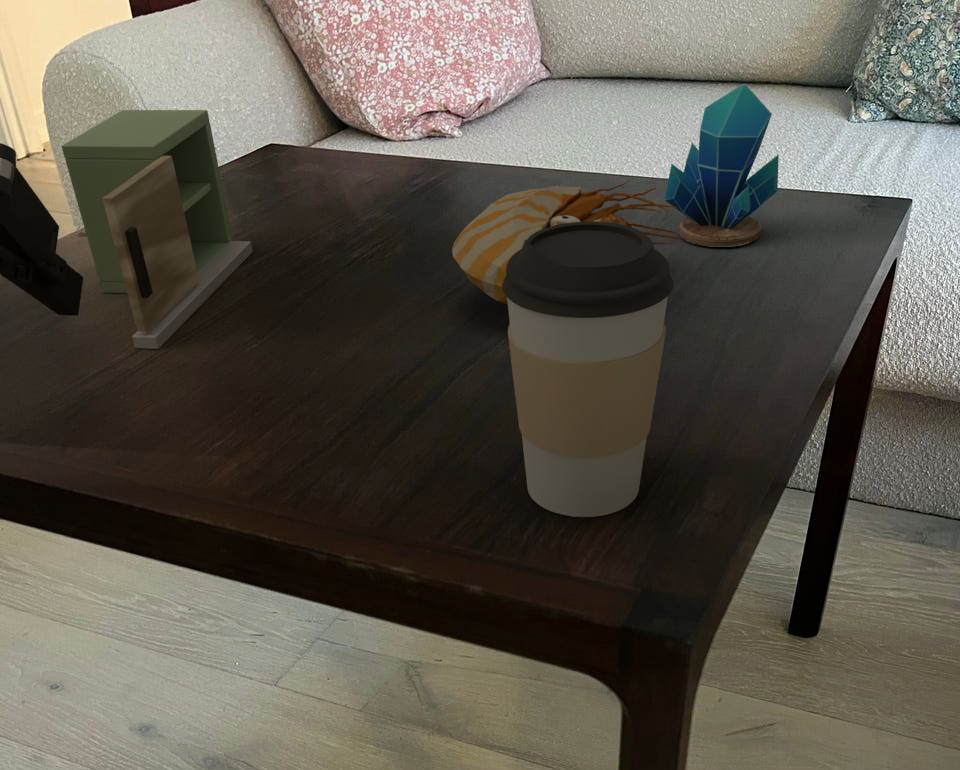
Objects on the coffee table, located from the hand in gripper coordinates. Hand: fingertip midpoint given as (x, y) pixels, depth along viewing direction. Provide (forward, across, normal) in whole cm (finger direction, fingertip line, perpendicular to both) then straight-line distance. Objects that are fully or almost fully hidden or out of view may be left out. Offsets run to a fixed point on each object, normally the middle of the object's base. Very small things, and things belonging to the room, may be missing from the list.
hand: (70, 295), depth 71 cm
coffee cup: (0, -36, +11) cm, 38 cm away
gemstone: (+31, -43, -20) cm, 56 cm away
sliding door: (+14, 0, -5) cm, 15 cm away
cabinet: (+18, +4, -8) cm, 20 cm away
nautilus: (+21, -32, -10) cm, 39 cm away
